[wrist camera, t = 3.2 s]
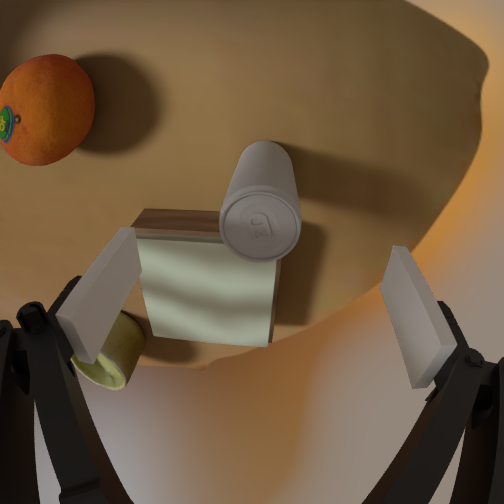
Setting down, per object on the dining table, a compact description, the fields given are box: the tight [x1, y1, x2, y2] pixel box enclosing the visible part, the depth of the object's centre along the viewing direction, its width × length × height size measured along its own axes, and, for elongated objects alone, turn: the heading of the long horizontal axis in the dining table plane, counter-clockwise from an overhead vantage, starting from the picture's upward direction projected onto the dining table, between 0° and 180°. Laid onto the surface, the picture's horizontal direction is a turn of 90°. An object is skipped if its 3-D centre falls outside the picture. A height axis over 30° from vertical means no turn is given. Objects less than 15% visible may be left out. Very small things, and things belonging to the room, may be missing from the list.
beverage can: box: [219, 141, 302, 263], centre depth 22 cm, size 5×5×12 cm
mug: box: [71, 312, 145, 390], centre depth 38 cm, size 12×10×10 cm
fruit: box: [0, 54, 95, 166], centre depth 21 cm, size 11×10×8 cm
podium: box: [131, 209, 282, 347], centre depth 32 cm, size 14×14×5 cm
